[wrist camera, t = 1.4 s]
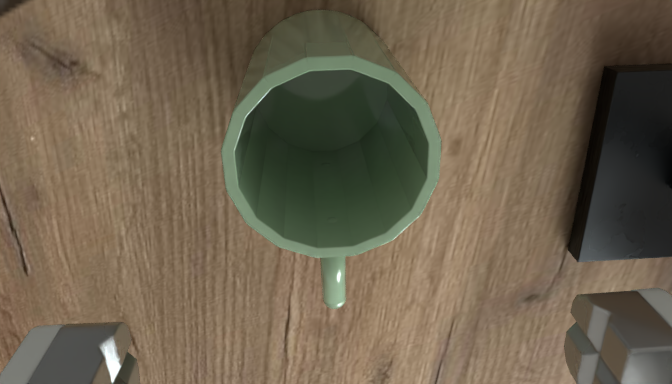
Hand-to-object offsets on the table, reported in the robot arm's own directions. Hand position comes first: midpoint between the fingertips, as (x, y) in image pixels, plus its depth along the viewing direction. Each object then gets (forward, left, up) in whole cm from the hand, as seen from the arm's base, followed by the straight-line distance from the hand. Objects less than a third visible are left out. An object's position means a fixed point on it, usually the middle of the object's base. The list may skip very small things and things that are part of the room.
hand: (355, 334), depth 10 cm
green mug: (+2, 0, -16) cm, 16 cm away
